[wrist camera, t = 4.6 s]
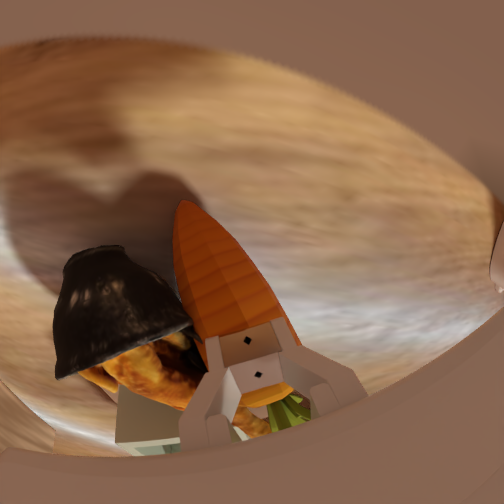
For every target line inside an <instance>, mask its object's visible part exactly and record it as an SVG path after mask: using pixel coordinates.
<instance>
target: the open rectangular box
mask: <svg viewBox="0 0 504 504" xmlns="http://www.w3.org/2000/svg"><path fill="white" fill-rule="evenodd" d="M100 387H101V386H100ZM101 388H102V387H101ZM102 389H103V390H104V391H105V392H106V393H107V394H108V395H109V397H110V398H111V399H112V400H113V401H114V402H115V403H116V404H117V417H116V432H115V443H116V444H117V445H118V446H120V447H121V448H123V449H124V450H125V451H127V452H128V453H130V454H131V455H133V456H147V455H160V454H169V453H178V452H181V446H180V436H179V424H178V421H179V419H180V417H181V416H182V414H183V412H184V411H182V410H177V409H175V408H173V407H171V406H169V405H167V404H164V403H160V402H158V401H155V400H151V399H149V398H146V397H144V396H142V395H139V394H136V393H134V392H132V391H130V390H129V389H128V388H127V387H126V386H125V385H121V384H118V391H117V392H116V393H112V392H110V391H108V390H106V389H104V388H102ZM247 408H248V409H249V411H250V412H251V413H253V414H254V415H255V416H257V417H258V418H260V419H263V418H266V417H268V411H267V406H266V405H265V406H262V407H259V408H249V407H247ZM231 425H232V424H231ZM232 426H233V425H232ZM233 428H234V429H235V431H236V432H237V434H238V435H239V437H240V438H241V439H242V441H243V440H248V439H252V438H250V437H249V436H248V435H247V434H245V433H244V432H243V431H242V430H241V429H240V428H238V427H235V426H233Z"/></svg>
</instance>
